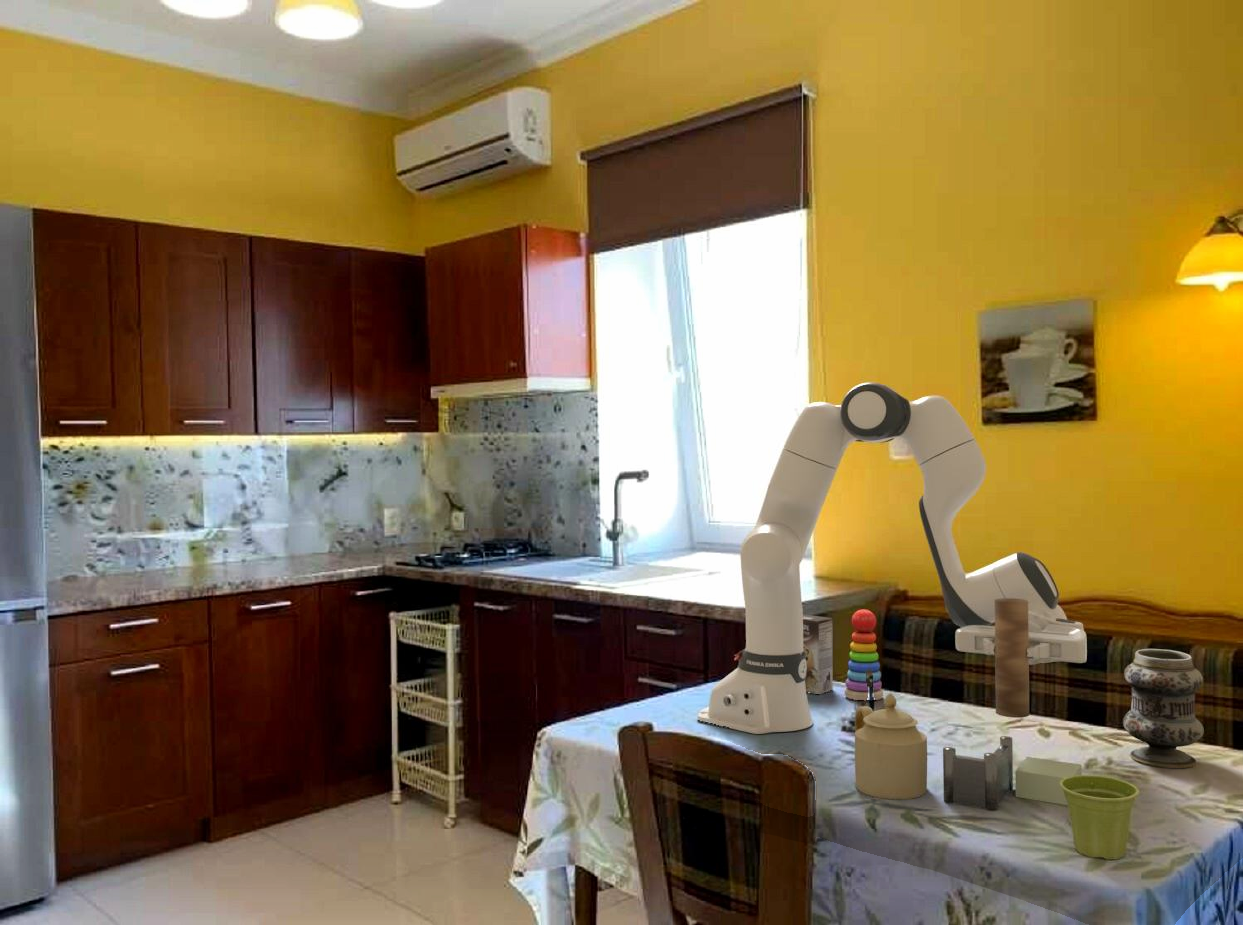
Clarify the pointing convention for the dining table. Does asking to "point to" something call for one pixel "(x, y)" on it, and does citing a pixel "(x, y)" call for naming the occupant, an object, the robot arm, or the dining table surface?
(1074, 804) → the plant pot
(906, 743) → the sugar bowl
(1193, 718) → the apothecary jar
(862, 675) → the stacking toy
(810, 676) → the coffee box
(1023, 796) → the block
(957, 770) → the corner post block
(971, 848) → the dining table surface
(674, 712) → the dining table surface
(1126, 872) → the dining table surface
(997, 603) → the brown wooden cylinder
